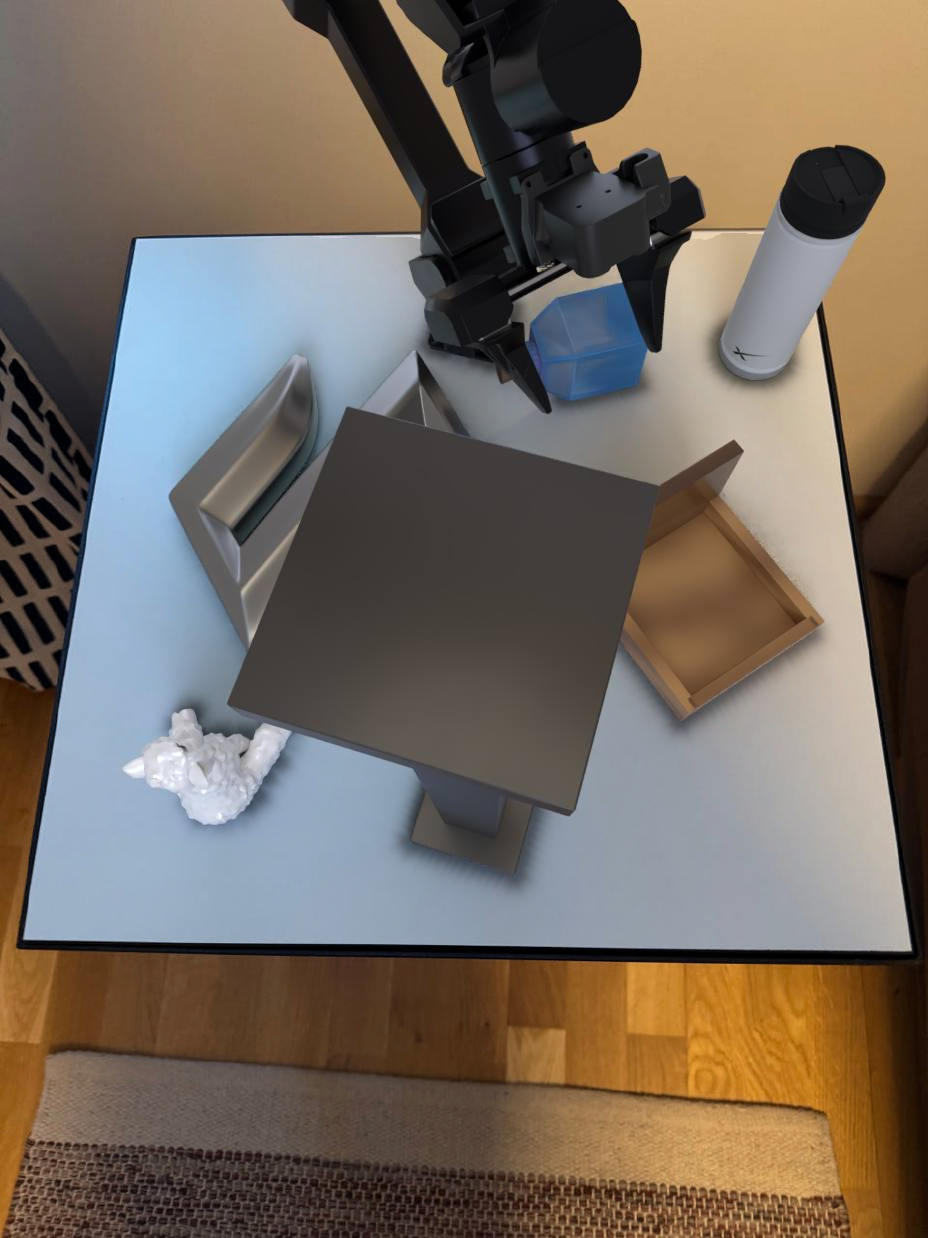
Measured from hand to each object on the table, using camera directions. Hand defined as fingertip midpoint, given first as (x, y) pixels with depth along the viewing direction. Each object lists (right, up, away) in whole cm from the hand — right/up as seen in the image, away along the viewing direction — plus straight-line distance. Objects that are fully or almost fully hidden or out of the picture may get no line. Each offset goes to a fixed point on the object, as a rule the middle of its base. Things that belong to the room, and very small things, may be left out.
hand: (602, 381), depth 59 cm
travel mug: (+16, +7, +16) cm, 24 cm away
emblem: (-20, -8, +13) cm, 25 cm away
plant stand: (-9, -31, +4) cm, 32 cm away
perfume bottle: (+5, +8, +14) cm, 17 cm away
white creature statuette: (-28, -28, +6) cm, 40 cm away
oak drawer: (+9, -16, +9) cm, 20 cm away
